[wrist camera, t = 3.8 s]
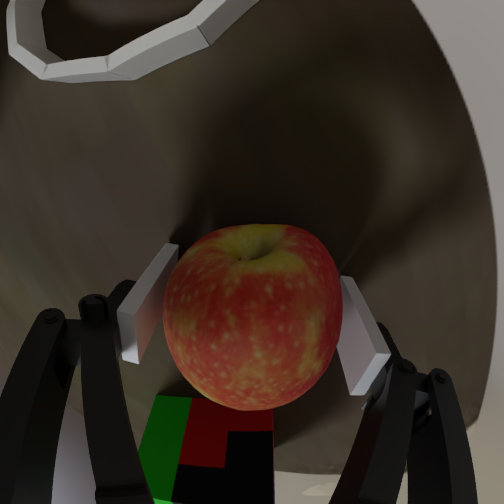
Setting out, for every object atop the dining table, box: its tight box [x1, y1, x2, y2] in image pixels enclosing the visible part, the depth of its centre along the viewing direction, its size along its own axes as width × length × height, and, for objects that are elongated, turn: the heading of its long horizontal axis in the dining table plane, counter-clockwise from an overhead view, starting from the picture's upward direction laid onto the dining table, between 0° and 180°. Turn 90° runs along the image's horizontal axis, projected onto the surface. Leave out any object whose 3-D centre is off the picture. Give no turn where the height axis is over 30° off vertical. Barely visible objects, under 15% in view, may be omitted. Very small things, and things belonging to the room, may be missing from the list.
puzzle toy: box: [138, 395, 275, 504], centre depth 19 cm, size 10×10×10 cm
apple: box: [163, 224, 343, 411], centre depth 13 cm, size 8×8×8 cm
